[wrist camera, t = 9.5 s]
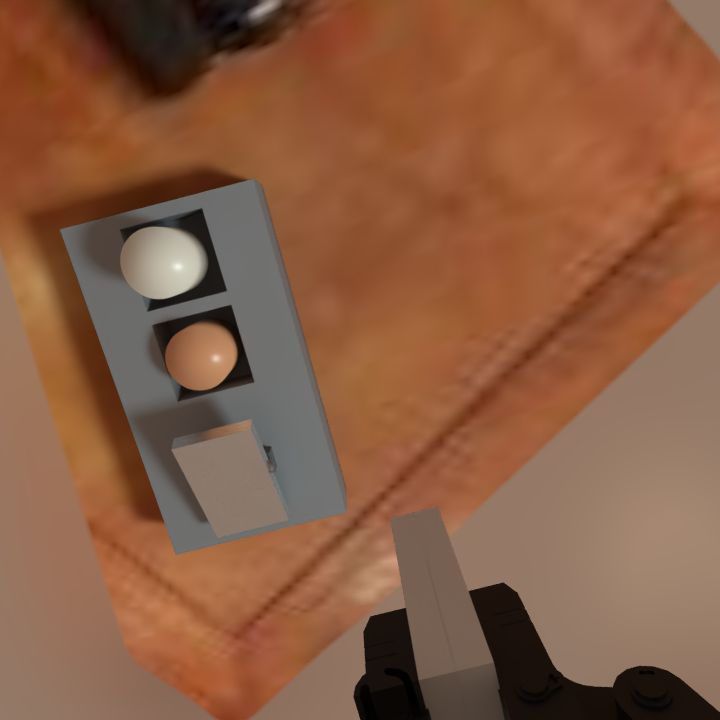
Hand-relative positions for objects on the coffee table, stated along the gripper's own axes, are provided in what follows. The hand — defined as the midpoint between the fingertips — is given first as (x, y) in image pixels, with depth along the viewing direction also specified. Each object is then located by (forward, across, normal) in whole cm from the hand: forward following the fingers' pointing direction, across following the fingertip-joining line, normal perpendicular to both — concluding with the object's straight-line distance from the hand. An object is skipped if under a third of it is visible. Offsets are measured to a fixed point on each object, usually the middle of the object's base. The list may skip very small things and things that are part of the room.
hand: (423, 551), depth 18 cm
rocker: (+24, -12, -5) cm, 27 cm away
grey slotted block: (+30, -12, +2) cm, 33 cm away
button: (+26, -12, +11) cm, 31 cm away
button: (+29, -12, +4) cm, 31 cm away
